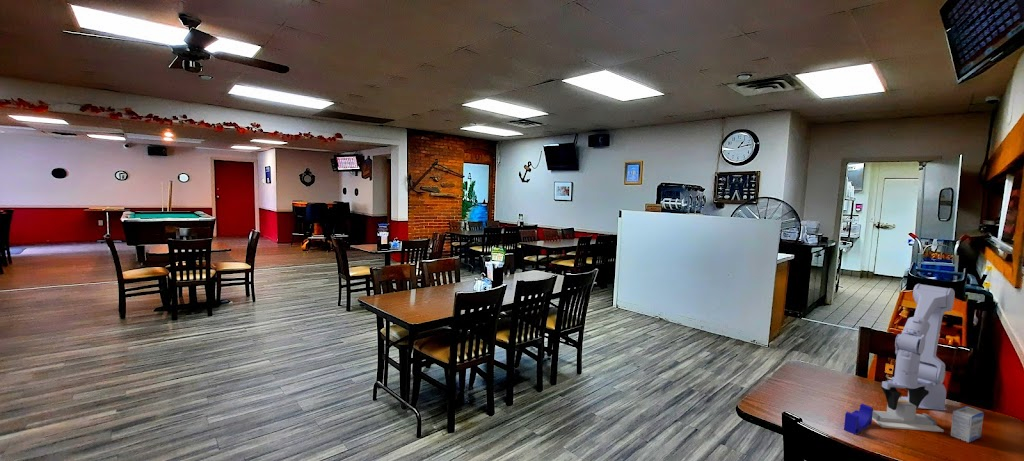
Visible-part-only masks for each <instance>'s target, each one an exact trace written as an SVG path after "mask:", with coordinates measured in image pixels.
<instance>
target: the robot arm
mask: <svg viewBox="0 0 1024 461" xmlns="http://www.w3.org/2000/svg"><path fill="white" fill-rule="evenodd" d="M912 291H913V292H912V298H913V300H914V303H915V304H916V307H915V311H914V315H913V316H911V317H910V316H909V317H908V318H907V320H906V322H905V325H904V327H903V329H902V332H901V333H898V334H897V335H896V337H895V341H894V347H895V348H894V349H895V351H894V353H895V355H896V359H895V368H894V374H893V375H894V376H892V377H891V379H889V380H885V381H884V380H883V381H881V386H880V387H881V391H883V393H884V395H885V399H886V403H888V407H889V408H891V409H893V410H896V408H897V403H898V400H899V397H900V398H902V399H904V400H906V401H908V402H910V403H911V404H913V405H915V406H916V410H918V409H922V410H923V409H925V410H937V411H947V408H945V406H946V398H947V389H946V387H945V385H944V384H943V382H944V381H945V377H946V364H945V362H944V361H942V360H941V359H940V358H939V357H938V356H937V350H938V344H939V339H940V334H941V328H942V322H943V316H944V315H945V312H951V311H952V309H953V308H954V302H955V295H956V294H955V290H954V288H951V287H949V288H948V287H941V286H934V285H928V284H921V283H917V284H915V285H914V287H913V290H912ZM898 389H907V390H908V391H907V396H902V394H903V393H902V392H900V391H898Z"/></svg>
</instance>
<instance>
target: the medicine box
mask: <svg viewBox="0 0 1024 461" xmlns="http://www.w3.org/2000/svg"><path fill="white" fill-rule="evenodd" d="M984 415H985V414H984V411H982V410H979V409H977V408H973V407H969V406H966V405H965V406H963V407H960V408H958V409H956V410H952V419H951V426H950V427H951V428H950V436H951V437H952V438H955V439H958V440H960V439H961V441H963V442H965V441H966V443H968V444H970V443H972V442H973V441H976V440H977V439H980V438H981V437H982V430H983V424H984V423H983V420H984ZM971 441H972V442H971ZM969 442H970V443H969Z"/></svg>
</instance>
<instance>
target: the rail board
mask: <svg viewBox="0 0 1024 461" xmlns="http://www.w3.org/2000/svg"><path fill="white" fill-rule="evenodd" d="M872 421H874V423H876V424H877V425H879V427H881V428H885V429H886V428H888V429H901V430H912V431H913V430H915V431H927V432H928V431H929V432H939V433H940V432H941V433H944V432H945V431H944V429H942V428H941V427H940V426H938V425H937V419H935V418H934V417H933V416H931V415H929V414H927V413H925V412H922V414H921V413H916V415H915V420H910V421H903V420H901V419H900V418H898V417H896V416H894V415H893V414H891V413H889V412H887V410H886V411H884V410H883V411H882V410H873V415H872Z"/></svg>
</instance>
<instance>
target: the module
mask: <svg viewBox="0 0 1024 461" xmlns="http://www.w3.org/2000/svg"><path fill="white" fill-rule="evenodd" d="M886 403H887V402H886ZM886 412H889V413H891V414H893V415H894V416H896V417H898V418H900V419H901V420H903V421H910V420H915V415H916V414H917V409H916V406H915V405H913V404H911V403H910V402H908V401H906V400H904V399H902V398H901V396H900V397H899V400H898V403H897V408H896V410H893V409H891V408H889V407H888V403H887V404H886Z"/></svg>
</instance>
